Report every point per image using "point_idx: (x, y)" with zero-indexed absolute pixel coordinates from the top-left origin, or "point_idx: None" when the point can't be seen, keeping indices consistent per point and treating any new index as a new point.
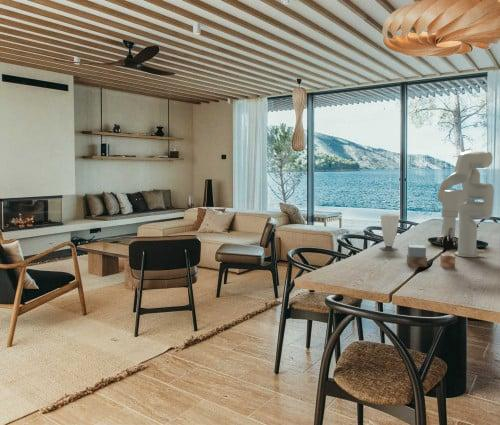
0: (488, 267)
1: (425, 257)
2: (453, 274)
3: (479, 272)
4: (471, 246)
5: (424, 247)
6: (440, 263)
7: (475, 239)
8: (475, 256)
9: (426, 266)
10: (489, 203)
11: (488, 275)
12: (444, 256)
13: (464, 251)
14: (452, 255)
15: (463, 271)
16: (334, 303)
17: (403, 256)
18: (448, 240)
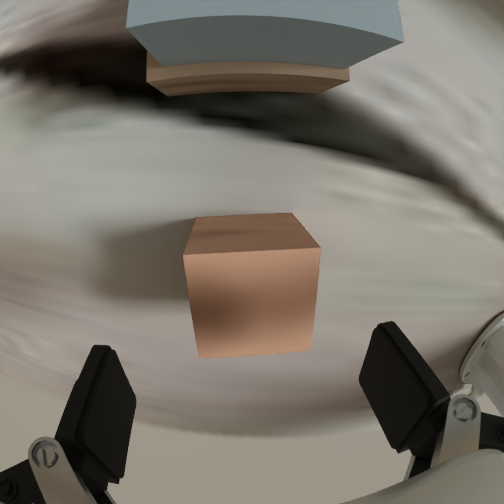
0: (279, 424)
1: (162, 65)
2: (24, 265)
3: (141, 388)
4: (490, 390)
5: (174, 2)
6: (289, 216)
7: (502, 416)
8: (460, 377)
9: (166, 94)
10: None
11: None
12: (186, 270)
13: (490, 355)
14: (251, 343)
15: (121, 330)
16: None
17: (479, 41)
18: (39, 448)
